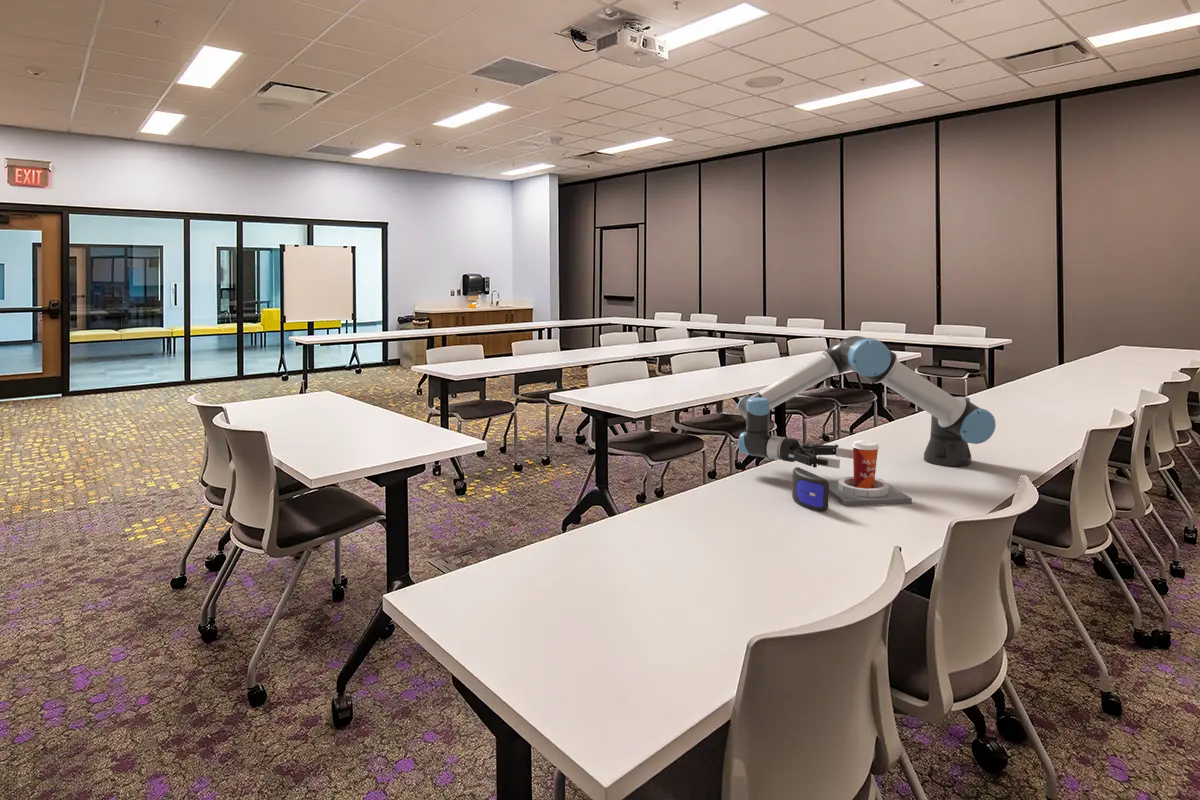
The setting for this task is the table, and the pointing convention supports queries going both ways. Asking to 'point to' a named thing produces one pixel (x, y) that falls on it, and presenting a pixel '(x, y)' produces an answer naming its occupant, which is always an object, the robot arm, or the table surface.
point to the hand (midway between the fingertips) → (848, 459)
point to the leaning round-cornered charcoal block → (810, 490)
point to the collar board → (867, 500)
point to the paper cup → (864, 463)
